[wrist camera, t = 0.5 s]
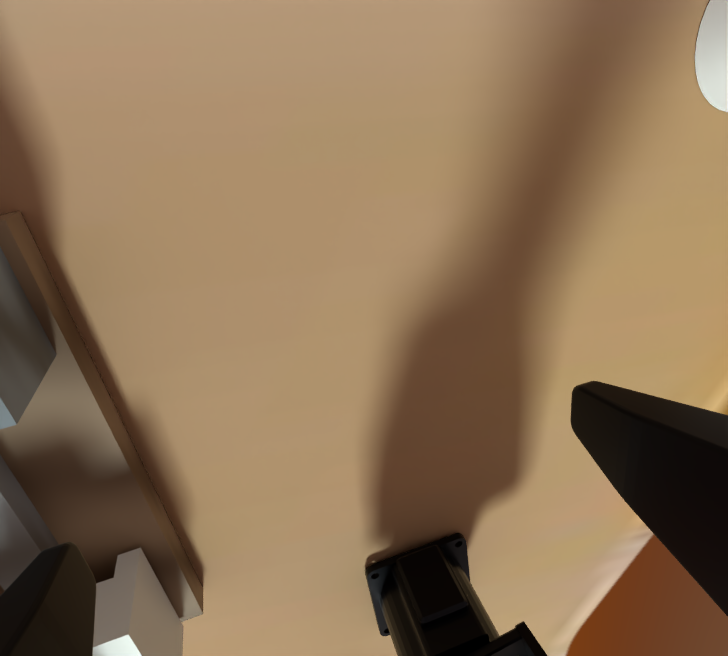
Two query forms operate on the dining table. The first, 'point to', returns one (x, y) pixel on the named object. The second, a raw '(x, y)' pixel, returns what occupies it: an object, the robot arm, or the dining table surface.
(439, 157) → the dining table surface
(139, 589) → the carriage
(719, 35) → the champagne flute
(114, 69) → the dining table surface
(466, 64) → the dining table surface
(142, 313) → the dining table surface
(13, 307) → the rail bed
